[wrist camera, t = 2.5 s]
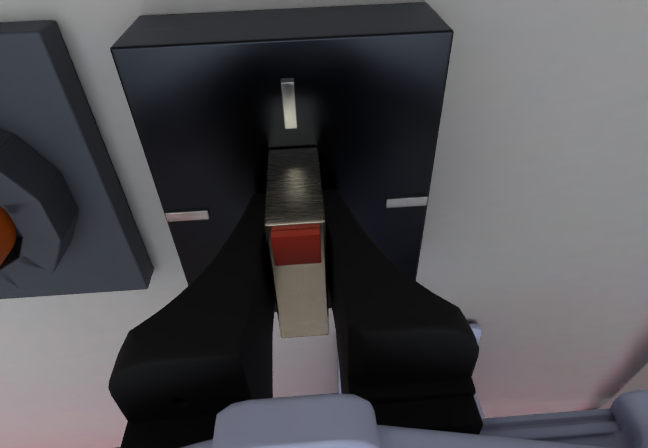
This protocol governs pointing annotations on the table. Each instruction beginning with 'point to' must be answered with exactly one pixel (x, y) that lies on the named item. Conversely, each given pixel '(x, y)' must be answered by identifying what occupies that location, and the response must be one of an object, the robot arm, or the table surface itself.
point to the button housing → (58, 178)
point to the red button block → (297, 241)
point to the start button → (6, 234)
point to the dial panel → (288, 114)
